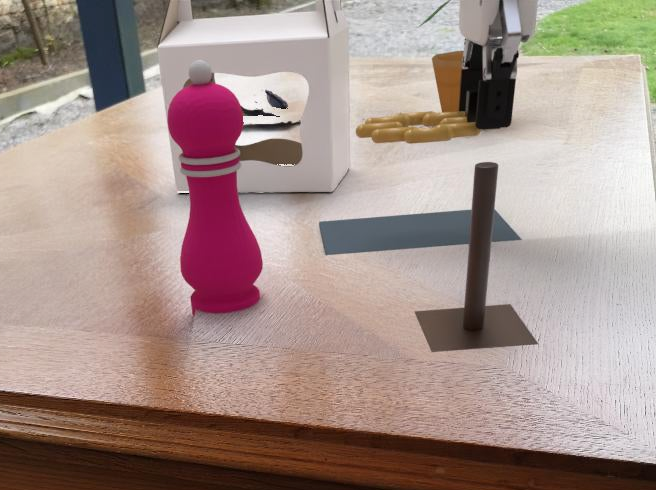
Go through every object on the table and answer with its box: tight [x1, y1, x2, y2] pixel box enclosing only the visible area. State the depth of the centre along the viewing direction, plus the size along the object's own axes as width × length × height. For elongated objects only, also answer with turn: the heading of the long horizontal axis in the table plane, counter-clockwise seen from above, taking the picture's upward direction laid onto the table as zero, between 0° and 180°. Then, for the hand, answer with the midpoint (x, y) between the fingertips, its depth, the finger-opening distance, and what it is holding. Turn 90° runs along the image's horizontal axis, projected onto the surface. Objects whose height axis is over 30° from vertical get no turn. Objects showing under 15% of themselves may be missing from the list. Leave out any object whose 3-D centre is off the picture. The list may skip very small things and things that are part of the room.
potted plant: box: [418, 0, 496, 113], centre depth 121 cm, size 18×19×30 cm
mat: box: [318, 208, 523, 256], centre depth 82 cm, size 20×18×1 cm
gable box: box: [156, 0, 351, 193], centre depth 101 cm, size 22×13×28 cm, turn 76°
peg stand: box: [414, 161, 539, 353], centre depth 58 cm, size 8×8×13 cm
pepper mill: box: [166, 60, 264, 317], centre depth 65 cm, size 7×7×20 cm
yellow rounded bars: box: [355, 90, 501, 145], centre depth 75 cm, size 14×9×3 cm
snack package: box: [241, 89, 289, 117], centre depth 140 cm, size 12×6×12 cm
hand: (483, 118), depth 76 cm, fingers closed on yellow rounded bars, 6 cm apart
